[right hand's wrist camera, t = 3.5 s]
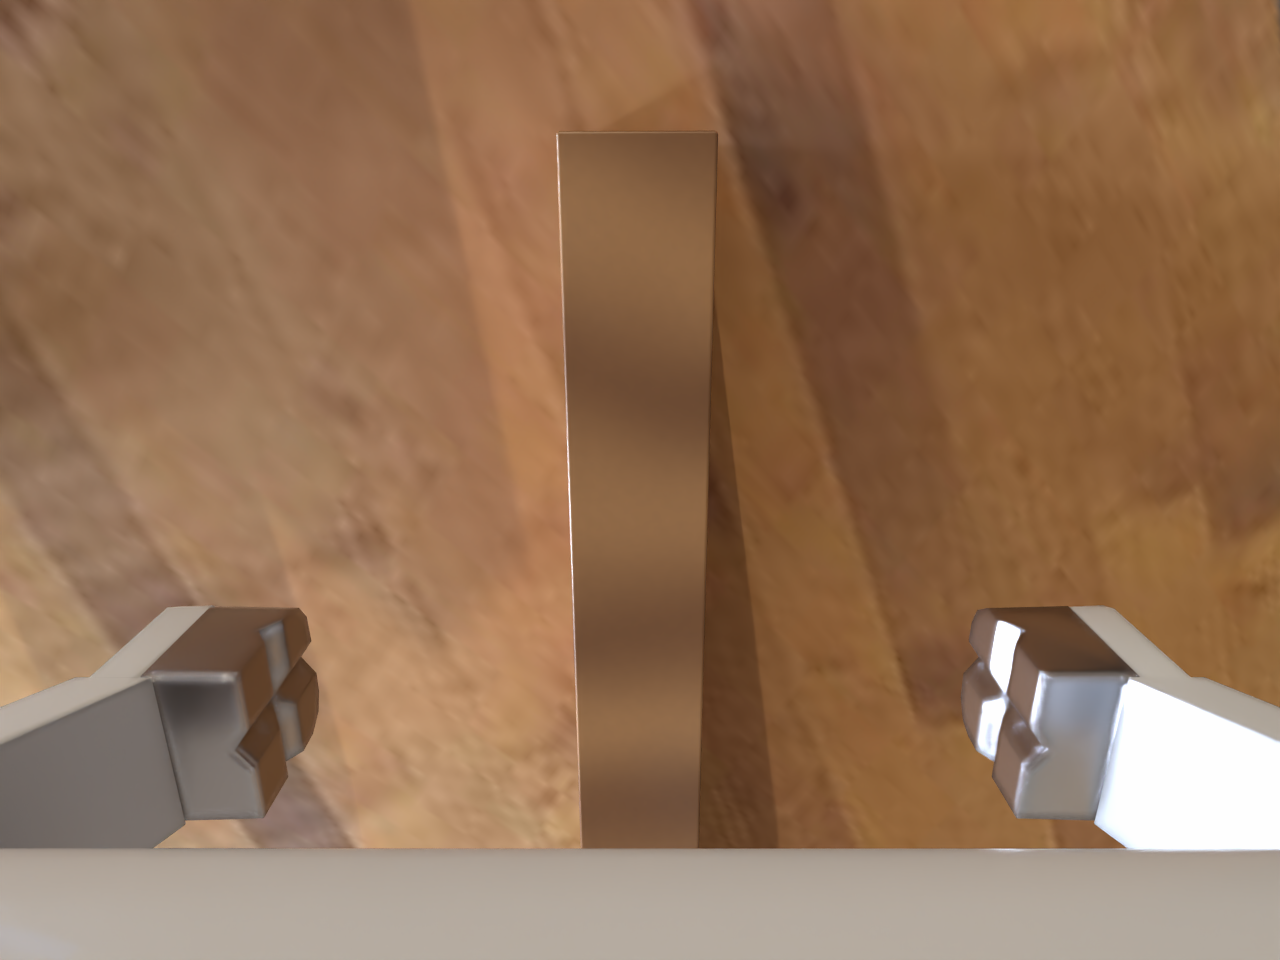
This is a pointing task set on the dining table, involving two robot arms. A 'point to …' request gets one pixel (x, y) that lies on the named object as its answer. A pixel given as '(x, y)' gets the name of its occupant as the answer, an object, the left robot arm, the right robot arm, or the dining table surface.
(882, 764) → the dining table surface
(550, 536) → the dining table surface
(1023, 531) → the dining table surface
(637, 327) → the post
